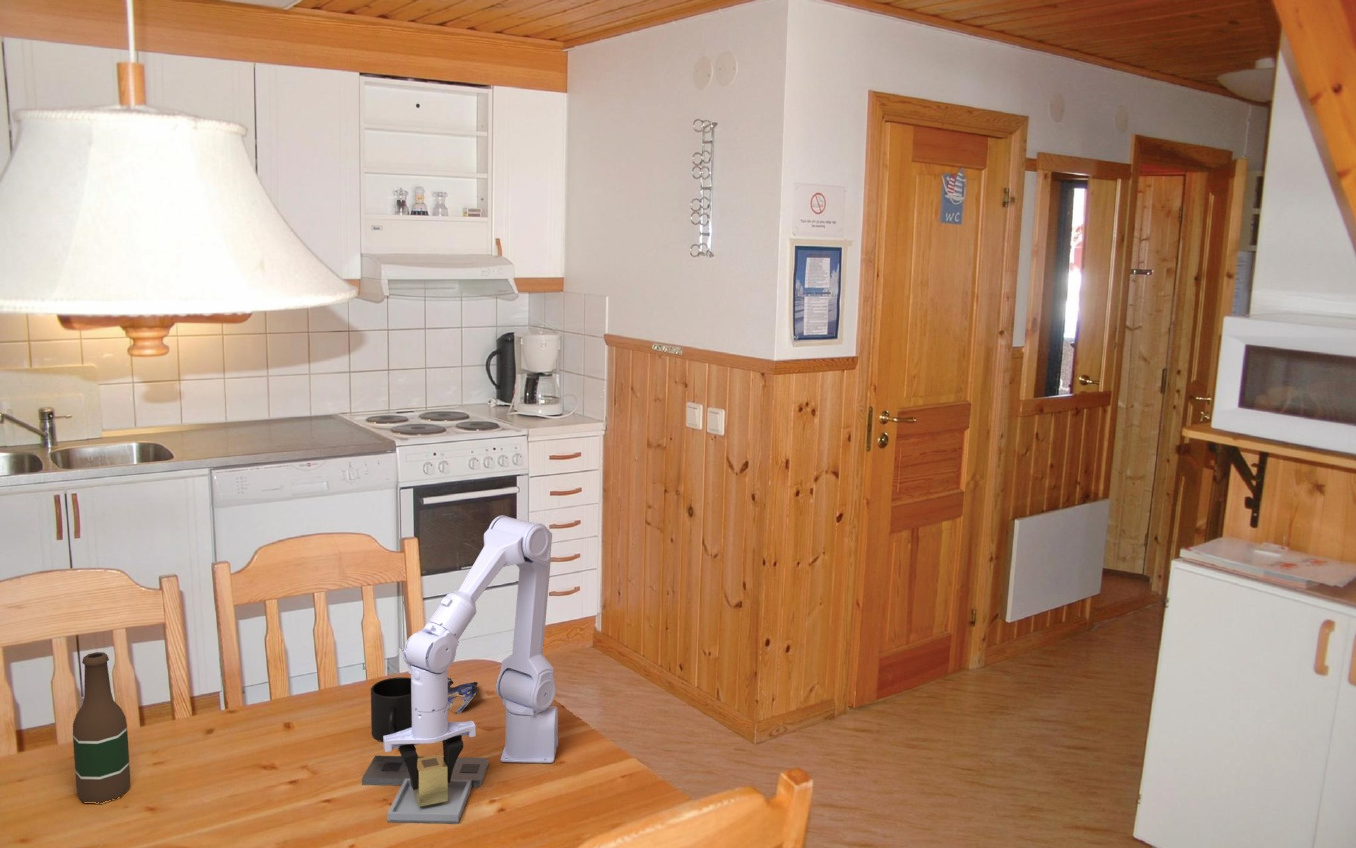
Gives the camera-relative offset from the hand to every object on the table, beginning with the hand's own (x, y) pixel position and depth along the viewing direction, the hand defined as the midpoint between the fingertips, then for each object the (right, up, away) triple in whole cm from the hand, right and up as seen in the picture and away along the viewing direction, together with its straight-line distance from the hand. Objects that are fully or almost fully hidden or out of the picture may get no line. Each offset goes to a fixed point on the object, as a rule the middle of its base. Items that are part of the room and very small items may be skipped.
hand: (430, 783), depth 167 cm
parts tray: (0, -4, +1) cm, 4 cm away
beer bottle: (-54, -2, +1) cm, 54 cm away
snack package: (-4, +2, +41) cm, 41 cm away
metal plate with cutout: (-3, -2, +10) cm, 11 cm away
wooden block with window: (0, -2, +1) cm, 3 cm away
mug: (-12, 0, +25) cm, 28 cm away
